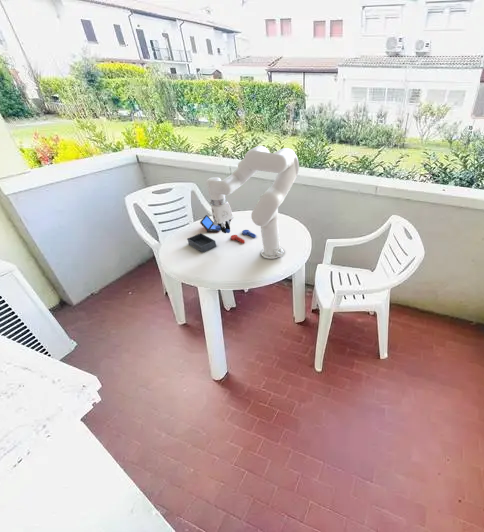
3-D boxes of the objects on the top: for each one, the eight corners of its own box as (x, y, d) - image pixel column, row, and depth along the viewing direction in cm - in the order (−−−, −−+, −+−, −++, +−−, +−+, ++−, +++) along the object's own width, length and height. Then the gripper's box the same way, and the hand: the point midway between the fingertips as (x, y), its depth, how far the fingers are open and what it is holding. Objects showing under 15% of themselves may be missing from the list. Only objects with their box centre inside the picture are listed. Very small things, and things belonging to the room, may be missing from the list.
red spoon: (247, 242, 174) (246, 238, 173) (241, 244, 171) (240, 241, 170) (235, 236, 180) (234, 233, 179) (229, 238, 177) (229, 235, 176)
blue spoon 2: (258, 236, 180) (257, 233, 178) (253, 239, 177) (252, 236, 176) (246, 231, 186) (245, 228, 184) (241, 233, 183) (240, 230, 182)
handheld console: (218, 232, 184) (216, 222, 180) (202, 232, 184) (199, 222, 180) (224, 224, 194) (222, 214, 190) (208, 224, 194) (206, 214, 190)
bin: (216, 246, 169) (215, 240, 167) (202, 252, 163) (201, 246, 161) (202, 238, 177) (200, 233, 175) (188, 244, 171) (187, 238, 169)
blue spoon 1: (232, 232, 162) (231, 228, 161) (226, 234, 159) (225, 231, 158) (220, 226, 168) (219, 223, 167) (214, 229, 165) (213, 225, 164)
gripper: (209, 207, 145) (218, 238, 155) (235, 198, 155) (241, 228, 165) (201, 204, 149) (210, 235, 159) (227, 195, 159) (233, 225, 169)
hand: (226, 231), depth 162 cm, fingers closed on blue spoon 1, 2 cm apart
